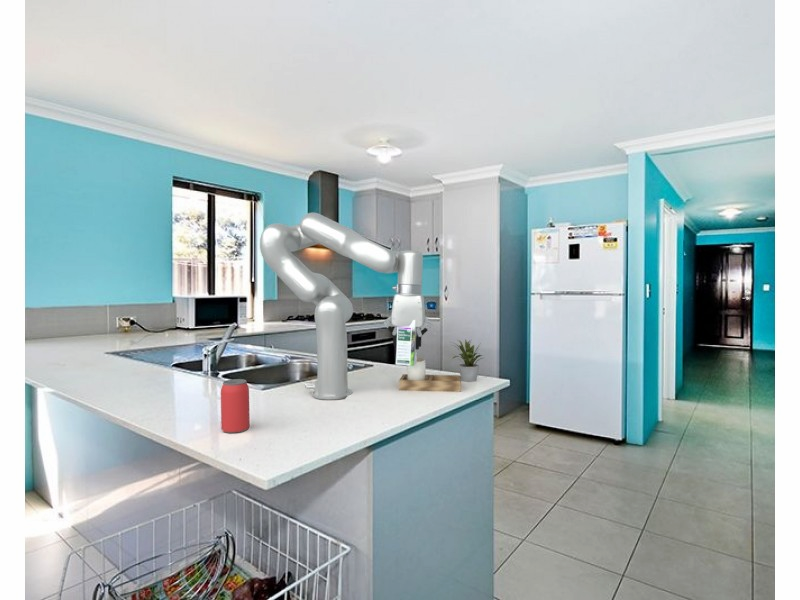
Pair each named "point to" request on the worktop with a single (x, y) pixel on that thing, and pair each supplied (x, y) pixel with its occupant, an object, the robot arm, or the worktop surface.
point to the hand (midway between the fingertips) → (407, 347)
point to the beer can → (235, 406)
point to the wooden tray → (432, 383)
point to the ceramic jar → (417, 370)
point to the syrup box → (406, 345)
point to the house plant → (468, 362)
